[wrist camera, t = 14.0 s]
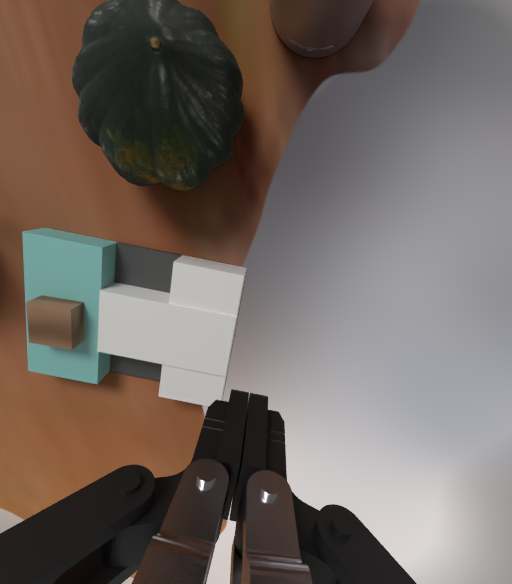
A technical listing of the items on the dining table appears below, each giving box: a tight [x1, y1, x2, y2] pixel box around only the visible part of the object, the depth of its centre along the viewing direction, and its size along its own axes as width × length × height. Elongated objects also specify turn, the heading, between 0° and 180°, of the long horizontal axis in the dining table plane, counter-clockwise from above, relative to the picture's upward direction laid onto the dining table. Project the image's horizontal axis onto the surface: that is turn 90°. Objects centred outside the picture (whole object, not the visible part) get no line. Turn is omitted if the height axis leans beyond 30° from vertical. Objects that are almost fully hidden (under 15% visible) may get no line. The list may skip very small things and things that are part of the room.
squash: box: [72, 0, 244, 191], centre depth 28 cm, size 14×15×15 cm
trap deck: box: [22, 228, 247, 406], centre depth 40 cm, size 18×25×4 cm
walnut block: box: [26, 295, 84, 350], centre depth 37 cm, size 5×5×2 cm
